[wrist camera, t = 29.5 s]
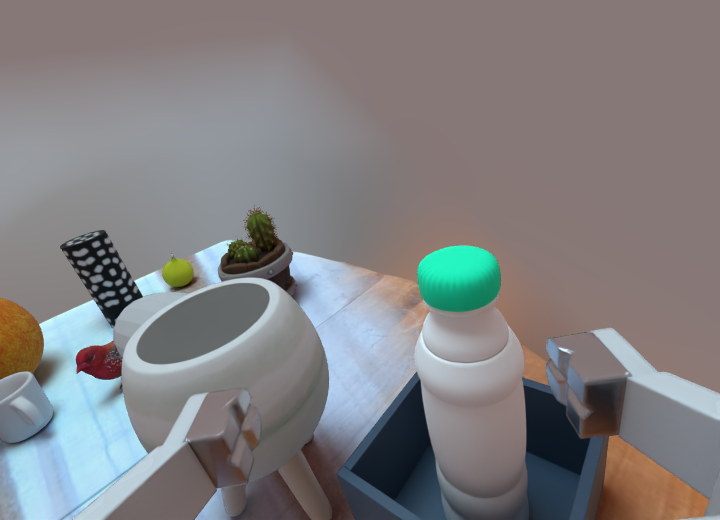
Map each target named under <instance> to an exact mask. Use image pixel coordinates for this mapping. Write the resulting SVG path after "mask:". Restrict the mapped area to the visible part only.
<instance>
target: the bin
mask: <svg viewBox="0 0 720 520" xmlns="http://www.w3.org/2000/svg"><path fill="white" fill-rule="evenodd" d="M522 381H523V388H524V397H525V410H526V454H525V463H526V467H527V476H528V486H527V496H528V504H529V520H596V515H597V511H598V506H599V502H600V497H601V493H602V488H603V483H604V475H605V466H606V457H607V449H608V440H609V436H603V437H594V438H584V439H580V437H579V436H578V434H577V432H576V431H575V429H574V427H573V426H572V424H571V423H570V421H569V419H568V418H567V416H566V406H565V405H563V404H562V403H560V402H558V401H557V400H556V398H555V396H554V395H553V393H552V391H551V388H550V386H548V385H544V384H541V383H538V382H535V381H532V380H529V379H526V378H523V377H522ZM337 476H338V479H339V481H340V484H341V486H342V489H343V491H344V494H345V496H346V499H347V501H348V504H349V506H350V509H351V511H352V514H353V516H354V519H355V520H447V518H446V516H445V512H444V509H443V504H442V497H441V487H440V484H439V481H438V477H437V471H436V457H435V454H434V451H433V447H432V444H431V440H430V436H429V431H428V426H427V421H426V416H425V411H424V404H423V397H422V388H421V380H420V378H419V376H418V374H417V372H416V373H415V374H414V375H413V377H412V378H411V379H410V381H409V382H408V383H407V384H406V386H405V387H404V388H403V390H402V391H401V392H400V393H399V395H398V396H397V397H396V399H395V400H394V401H393V402H392V404H391V405H390V406H389V408H388V409H387V410H386V411H385V413H384V414H383V415H382V417H381V418H380V419H379V420H378V422H377V423H376V424H375V426H374V427H373V428H372V429H371V431H370V432H369V433H368V434H367V436H366V437H365V438H364V440H363V441H362V442H361V443H360V445H359V446H358V447H357V449H356V450H355V451H354V452H353V454H352V455H351V456H350V458H349V459H348V460H347V461H346V463H345V464H344V466H343V467H342V468H341V469H340V470H339V472H338V473H337Z"/></svg>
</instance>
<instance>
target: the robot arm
mask: <svg viewBox="0 0 720 520" xmlns="http://www.w3.org/2000/svg"><path fill="white" fill-rule="evenodd" d="M546 351H547V353H548V354H549V356H550V357H551V358H550V360H549V361H548V362H547V363H546V375H547V379H548V383H549V386H550V388H551V391H552V393H553V395H554V396H555V398H556V400H557V401H558V402H560V403H562V404H563V405H565V406H566V416H567V418H568V419H569V421H570V423H571V424H572V426H573V427H574V429H575V431H576V432H577V434H578V436H579V437H580V439H584V438H594V437H603V436H613V435H619V437H620V438H621V439H623V440H624V441H626V442H627V443H628V444H630V445H631V446H633V447H634V448H636V449H637V450H639V451H640V452H641V453H643V454H644V455H646V456H647V457H649V458H650V459H652V460H653V461H654V462H656V463H657V464H659V465H660V466H662V467H663V468H664V469H666V470H667V471H669V472H670V473H672V474H673V475H675V476H676V477H677V478H679V479H680V480H682V481H683V482H685V483H686V484H688V485H689V486H690V487H692V488H693V489H695V490H696V491H698V492H699V493H701V494H702V495H703V496H705V497H706V498H708V499H709V502H708V505H707V508H706V511H705V514H704V517H696V518H687V519H678V520H720V394H719V393H717V392H714V391H712V390H709V389H707V388H704V387H702V386H699V385H697V384H695V383H692V382H690V381H687V380H685V379H682V378H680V377H677V376H675V375H673V374H670V373H668V372H661V373H659V372H658V371H657V370H656V369H655V368H654V367H653V366H652V365H651V364H650V363H649V362H648V361H646V359H645V358H643V357H642V356H641V355H640V354H639V353H638V352H637V351H636V350H635V349H634V348H633V347H632V346H631V345H630V344H629V343H628V342H627V341H626V340H625V339H624V338H623V337H622V336H621V335H620V334H619V333H618V332H617V331H616V330H614V329H612V328H605V329H599V330H594V331H589V332H584V333H578V334H572V335H566V336H560V337H554V338H548V340H547V343H546ZM251 398H252V396H251V394H250V392H249V390H248V388H244V387H242V388H235V389H228V390H220V391H213V392H209V393H201V394H194V395H192V396H191V397H190V398H189V399H188V401H187V402H186V404H185V406H184V408H183V410H182V412H181V413H180V415H179V417H178V419H177V421H176V422H175V424H174V426H173V428H172V430H171V432H170V433H169V435H168V437H167V439H166V441H165V442H164V444H163V446H158V447H156V448H155V449H154V450H153V451H152V452H150V453H149V454H148V455H147V456H146V457H144V458H143V459H142V460H141V461H140V462H139V463H137V464H136V465H135V466H134V467H133V468H132V469H130V470H129V471H128V472H127V473H126V474H125V475H123V476H122V477H121V478H120V479H119V480H118V481H116V482H115V483H114V484H113V485H112V486H111V487H109V488H108V489H107V490H106V491H105V492H104V493H102V494H101V495H100V496H99V497H98V498H97V499H95V500H94V501H93V502H92V503H91V504H89V505H88V506H87V507H86V508H85V509H84V510H82V511H81V512H80V513H79V514H78V515H77V516H75V517H74V518H73V519H72V520H194V519H195V518H196V517H197V516H198V514H199V513H200V512H201V510H202V509H203V508H204V506H205V505H206V504H207V503H208V501H209V500H210V499H211V497H212V496H213V495H214V494H215V492H216V491H217V489H216V488H222V487H228V486H234V485H240V484H246V483H248V481H249V477H250V474H251V470H252V467H253V463H254V460H255V459H254V457H253V455H252V451H253V450H254V449H255V448H256V447H257V445H258V444H259V442H260V438H261V434H262V421H261V416H260V413H259V411H258V409H257V408H256V407H254V406H253V405H251V404H250V401H251Z"/></svg>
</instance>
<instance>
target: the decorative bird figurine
mask: <svg viewBox="0 0 720 520" xmlns="http://www.w3.org/2000/svg"><path fill="white" fill-rule="evenodd" d="M122 359H123V357H122V356H121V355H120V354H119V352H118V350H117V348H116V345H115V343H114V341H112V342H110V343H108V344H106V345H104V346H90V347H87V348H84V349H82V350H80V351H79V352H78V354H77V356H76V364H77V374H78V373H79V372H80V371H83V372H85V373H87V374H90V375H92V376H94V377H95V378H98V379H102V380H111V379H115V378H118V377H120V376H122ZM121 387H122V385H121ZM121 387H120V388H121Z"/></svg>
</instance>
